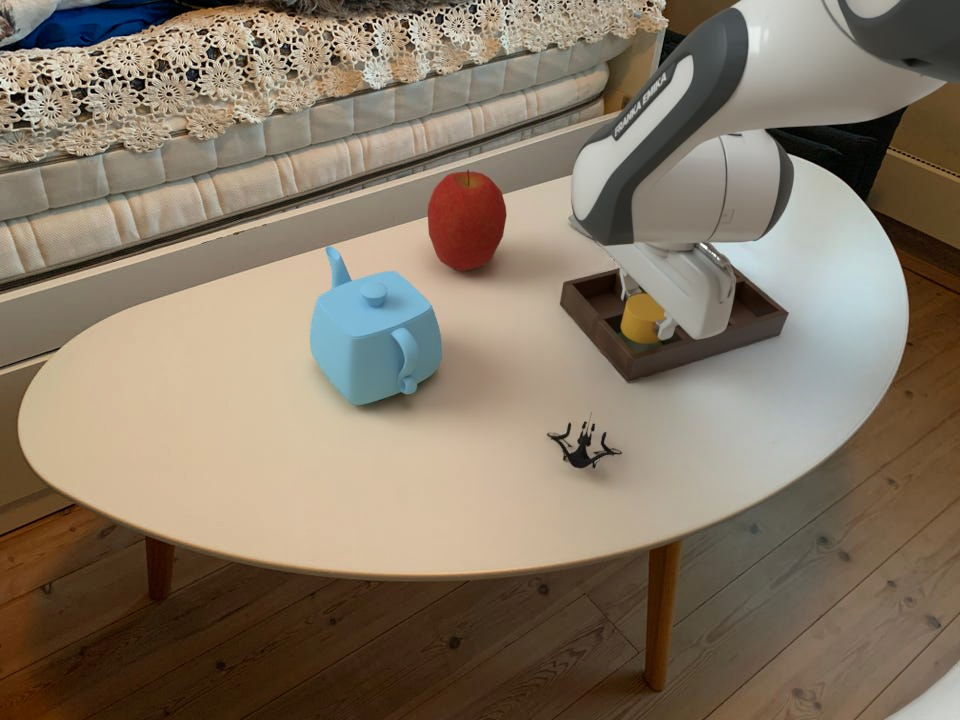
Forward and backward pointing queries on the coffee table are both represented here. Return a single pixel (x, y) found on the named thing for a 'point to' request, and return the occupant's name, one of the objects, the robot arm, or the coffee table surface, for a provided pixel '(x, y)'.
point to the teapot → (373, 334)
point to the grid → (749, 322)
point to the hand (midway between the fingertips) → (645, 318)
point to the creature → (582, 448)
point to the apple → (466, 219)
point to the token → (641, 318)
